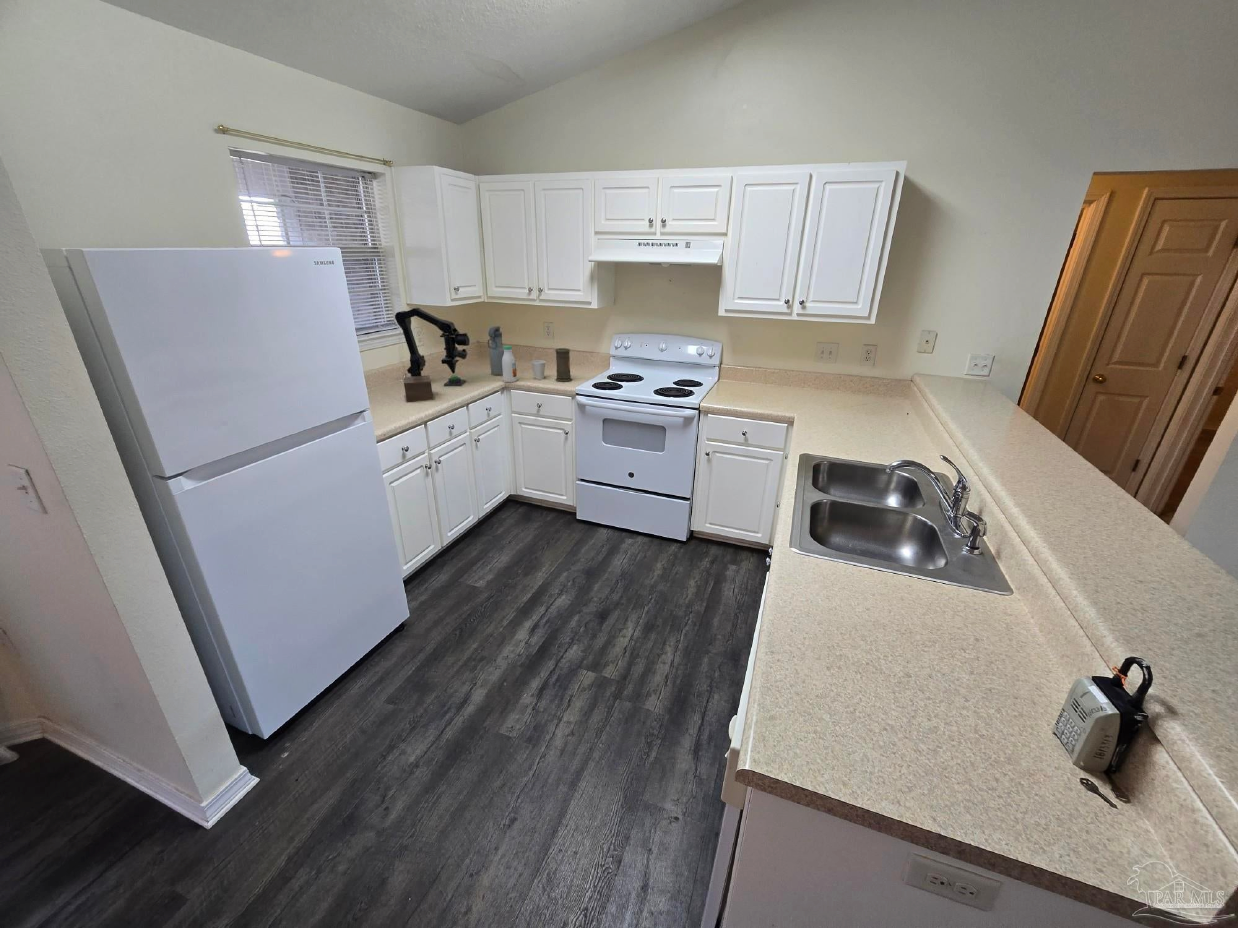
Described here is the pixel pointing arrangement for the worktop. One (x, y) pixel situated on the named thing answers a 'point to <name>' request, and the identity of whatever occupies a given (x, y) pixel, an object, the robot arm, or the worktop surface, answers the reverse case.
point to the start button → (454, 377)
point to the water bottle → (496, 350)
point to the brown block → (418, 388)
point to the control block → (454, 382)
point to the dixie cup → (538, 368)
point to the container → (563, 365)
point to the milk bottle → (509, 365)
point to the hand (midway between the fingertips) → (453, 373)
